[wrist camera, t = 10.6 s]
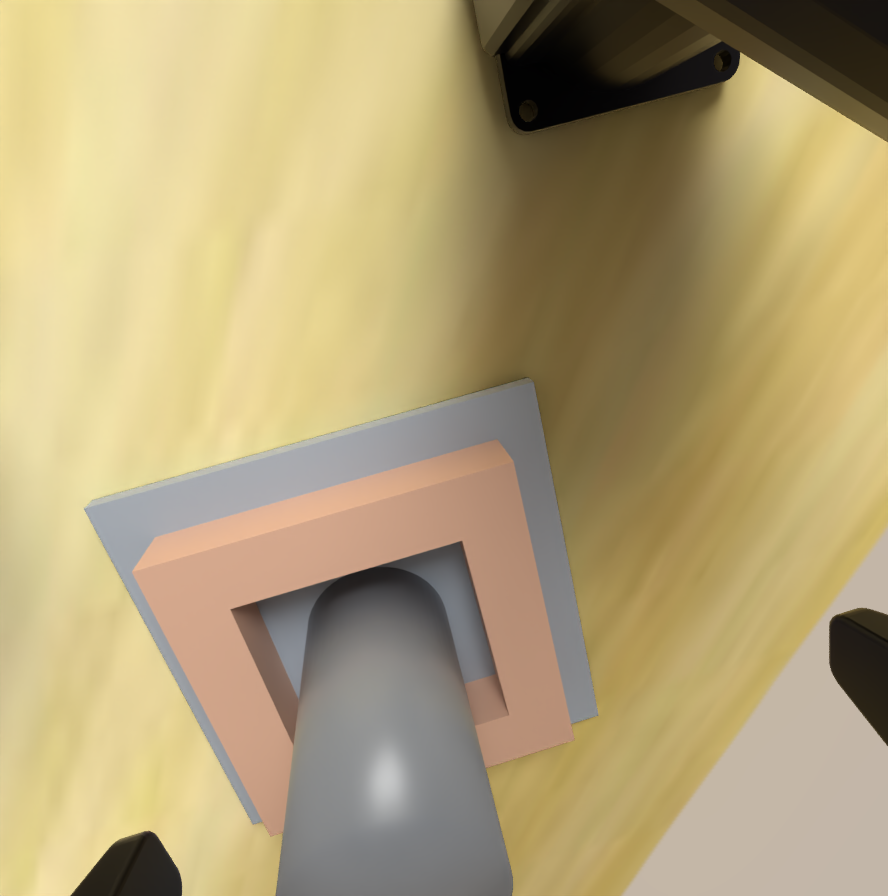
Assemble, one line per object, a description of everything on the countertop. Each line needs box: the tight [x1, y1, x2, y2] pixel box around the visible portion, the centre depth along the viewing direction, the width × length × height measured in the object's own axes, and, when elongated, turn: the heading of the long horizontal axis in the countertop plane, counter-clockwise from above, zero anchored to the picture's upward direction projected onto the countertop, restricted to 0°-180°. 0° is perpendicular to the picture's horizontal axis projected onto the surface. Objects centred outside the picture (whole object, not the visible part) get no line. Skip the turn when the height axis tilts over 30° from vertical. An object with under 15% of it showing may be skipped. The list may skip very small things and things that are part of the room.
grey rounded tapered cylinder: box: [276, 567, 513, 896], centre depth 16 cm, size 5×5×9 cm
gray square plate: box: [84, 378, 598, 837], centre depth 19 cm, size 14×14×3 cm
